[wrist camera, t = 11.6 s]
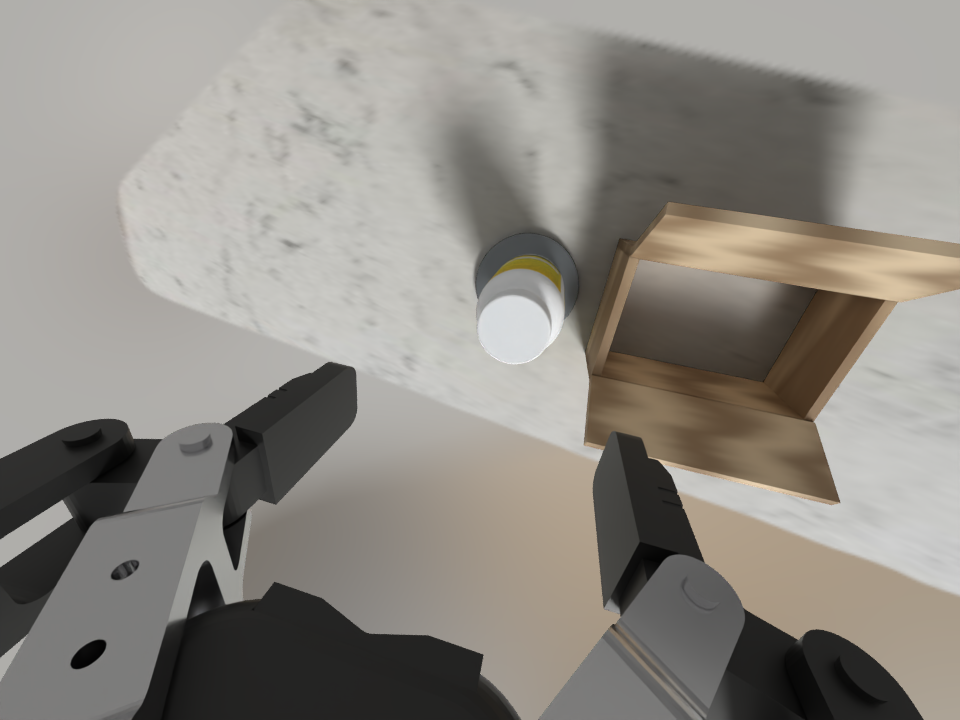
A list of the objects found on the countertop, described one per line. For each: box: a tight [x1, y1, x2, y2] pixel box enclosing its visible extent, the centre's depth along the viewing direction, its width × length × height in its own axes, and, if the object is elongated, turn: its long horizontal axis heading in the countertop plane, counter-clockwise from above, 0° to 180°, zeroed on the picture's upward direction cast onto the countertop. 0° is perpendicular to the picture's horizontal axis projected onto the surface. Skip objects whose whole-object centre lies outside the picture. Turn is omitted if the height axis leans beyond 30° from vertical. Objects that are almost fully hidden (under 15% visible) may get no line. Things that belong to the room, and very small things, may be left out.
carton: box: [584, 202, 960, 505], centre depth 21 cm, size 14×14×10 cm
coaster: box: [476, 233, 579, 319], centre depth 27 cm, size 8×8×1 cm
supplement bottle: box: [476, 254, 565, 364], centre depth 22 cm, size 5×5×10 cm
